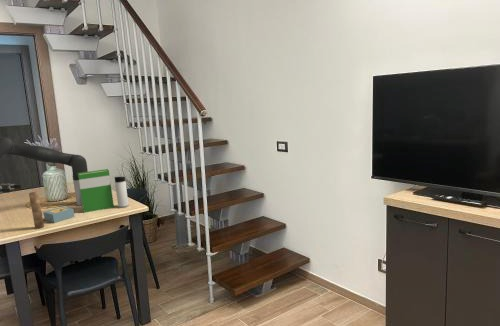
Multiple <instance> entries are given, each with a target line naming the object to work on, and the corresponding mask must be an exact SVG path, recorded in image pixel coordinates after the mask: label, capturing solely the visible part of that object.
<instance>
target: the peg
mask: <svg viewBox="0 0 500 326" xmlns="http://www.w3.org/2000/svg"><path fill="white" fill-rule="evenodd" d="M28 195H29V203H30V208H31V213H32V218H33V224H34V229H35V230H39V229H43V228H45V223H44V216H43V212H42V207H41V201H40V195H39V192H38V191H34V192H33V191H32V192H29V193H28Z"/></svg>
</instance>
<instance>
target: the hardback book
mask: <svg viewBox="0 0 500 326" xmlns="http://www.w3.org/2000/svg"><path fill="white" fill-rule="evenodd" d="M78 177H79V184H80V190H81V197H82V203H83V205H82V208H83V213H84V214H85V213H89V212H96V211H102V210H107V209H113V208H114V207H115V205H114V198H113V191H112V184H111V183H112V181H111V177H110V171H109V169H108V168H106V169H105V168H104V169H97V170H92V171H88V172H82V173H78Z"/></svg>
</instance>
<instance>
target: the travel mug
mask: <svg viewBox="0 0 500 326" xmlns="http://www.w3.org/2000/svg"><path fill="white" fill-rule="evenodd" d="M114 183H115V191H116V199H117V206H118V208H120V209H124V208H127V207H129V204H130V203H129V199H128V191H127V183H126V177H125V176H115V177H114Z"/></svg>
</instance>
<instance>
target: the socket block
mask: <svg viewBox="0 0 500 326" xmlns="http://www.w3.org/2000/svg"><path fill="white" fill-rule="evenodd" d="M42 214H43V220H44V221H47V222H49V221H50V223H52V222H53V224H56V223H59V222H63V221H65V220H69V219H72V218H75V211H74V208H72V207H68V206H64V205H63V206H60V207H56V208H51V209H49V210H45V211H43V212H42Z"/></svg>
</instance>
